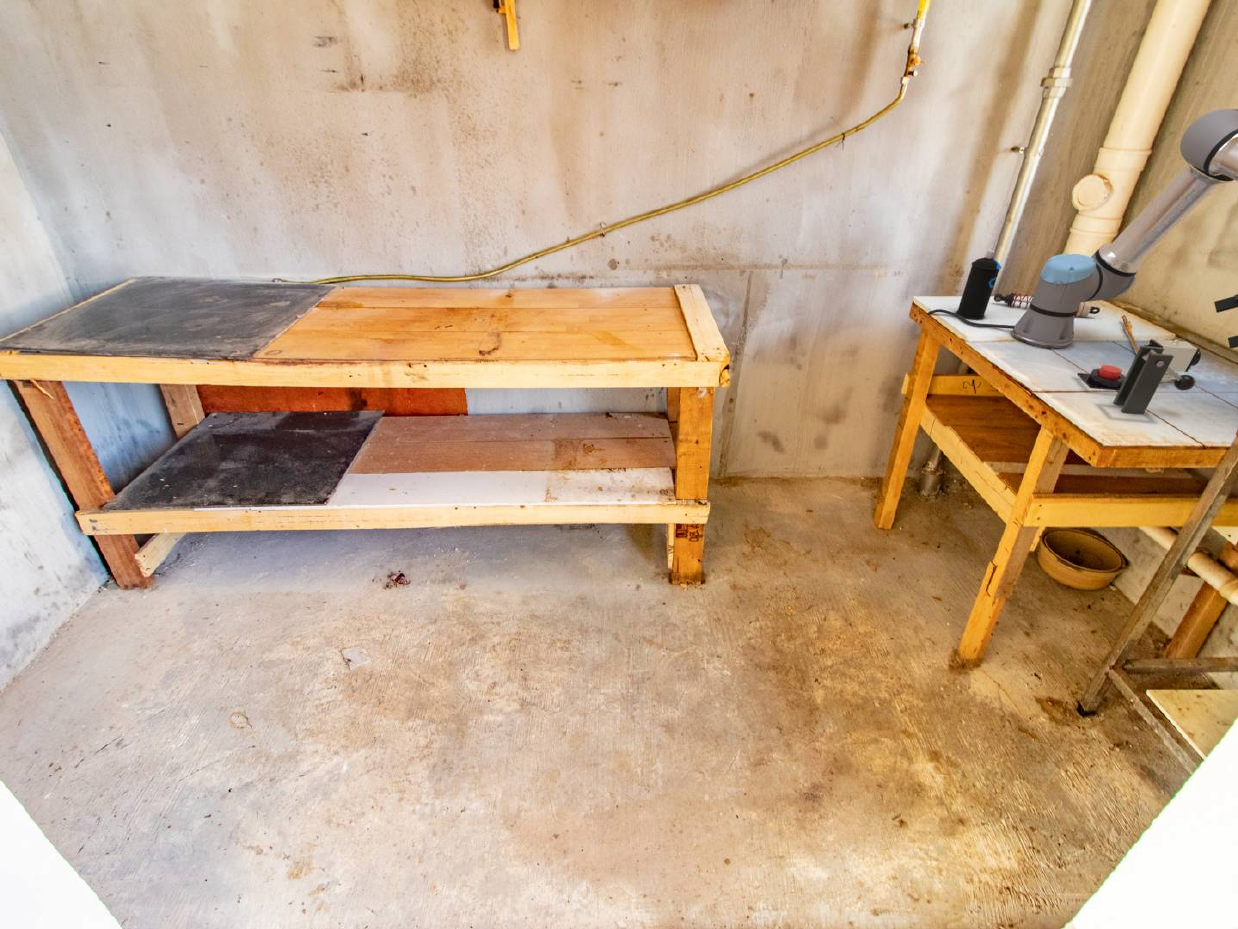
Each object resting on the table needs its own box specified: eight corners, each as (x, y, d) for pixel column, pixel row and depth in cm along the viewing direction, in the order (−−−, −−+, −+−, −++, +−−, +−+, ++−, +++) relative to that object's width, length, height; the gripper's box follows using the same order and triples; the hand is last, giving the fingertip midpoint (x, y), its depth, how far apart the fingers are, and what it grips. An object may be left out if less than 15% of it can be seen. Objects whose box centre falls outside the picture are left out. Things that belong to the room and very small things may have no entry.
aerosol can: (956, 317, 204) (977, 252, 193) (955, 309, 210) (975, 246, 199) (985, 321, 202) (1007, 256, 191) (983, 312, 208) (1004, 249, 197)
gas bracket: (1138, 408, 155) (1171, 346, 146) (1153, 422, 149) (1188, 359, 141) (1098, 404, 156) (1127, 343, 148) (1111, 418, 151) (1142, 355, 142)
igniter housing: (1116, 382, 167) (1123, 369, 165) (1131, 396, 160) (1138, 383, 158) (1074, 378, 168) (1080, 366, 166) (1088, 392, 162) (1094, 379, 160)
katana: (1136, 366, 178) (1140, 357, 176) (1119, 320, 203) (1123, 312, 202) (1142, 367, 177) (1146, 358, 176) (1124, 321, 203) (1128, 312, 201)
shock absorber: (995, 296, 211) (1102, 310, 201) (996, 286, 214) (1103, 300, 203) (990, 307, 215) (1096, 321, 205) (992, 298, 218) (1096, 311, 207)
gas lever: (1177, 389, 150) (1193, 377, 148) (1186, 396, 147) (1202, 384, 145) (1137, 357, 147) (1152, 345, 145) (1145, 364, 144) (1160, 352, 142)
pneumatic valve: (1184, 389, 164) (1208, 345, 158) (1134, 386, 165) (1156, 341, 159) (1171, 380, 169) (1195, 336, 162) (1123, 376, 170) (1144, 333, 163)
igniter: (1113, 373, 164) (1117, 365, 163) (1121, 380, 161) (1125, 373, 159) (1094, 371, 165) (1098, 364, 164) (1102, 379, 161) (1106, 371, 160)
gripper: (1359, 262, 124) (1212, 304, 139) (1373, 339, 137) (1237, 369, 152) (1349, 235, 127) (1206, 278, 143) (1363, 312, 140) (1231, 345, 155)
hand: (1222, 325), depth 147 cm, fingers open, 13 cm apart
